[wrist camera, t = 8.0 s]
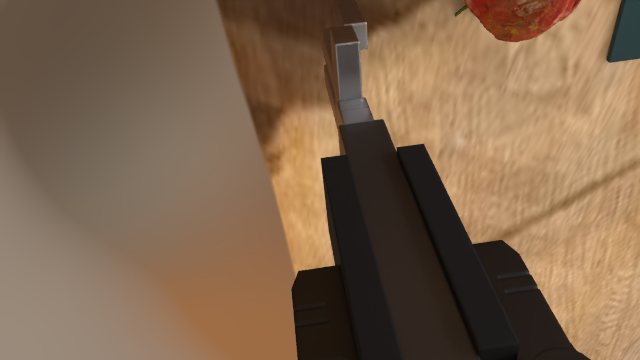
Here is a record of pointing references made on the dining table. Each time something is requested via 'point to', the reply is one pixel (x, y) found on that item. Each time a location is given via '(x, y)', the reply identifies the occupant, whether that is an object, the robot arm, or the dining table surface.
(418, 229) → the fork
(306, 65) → the dining table surface
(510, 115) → the dining table surface
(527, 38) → the red round fruit
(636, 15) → the mat
